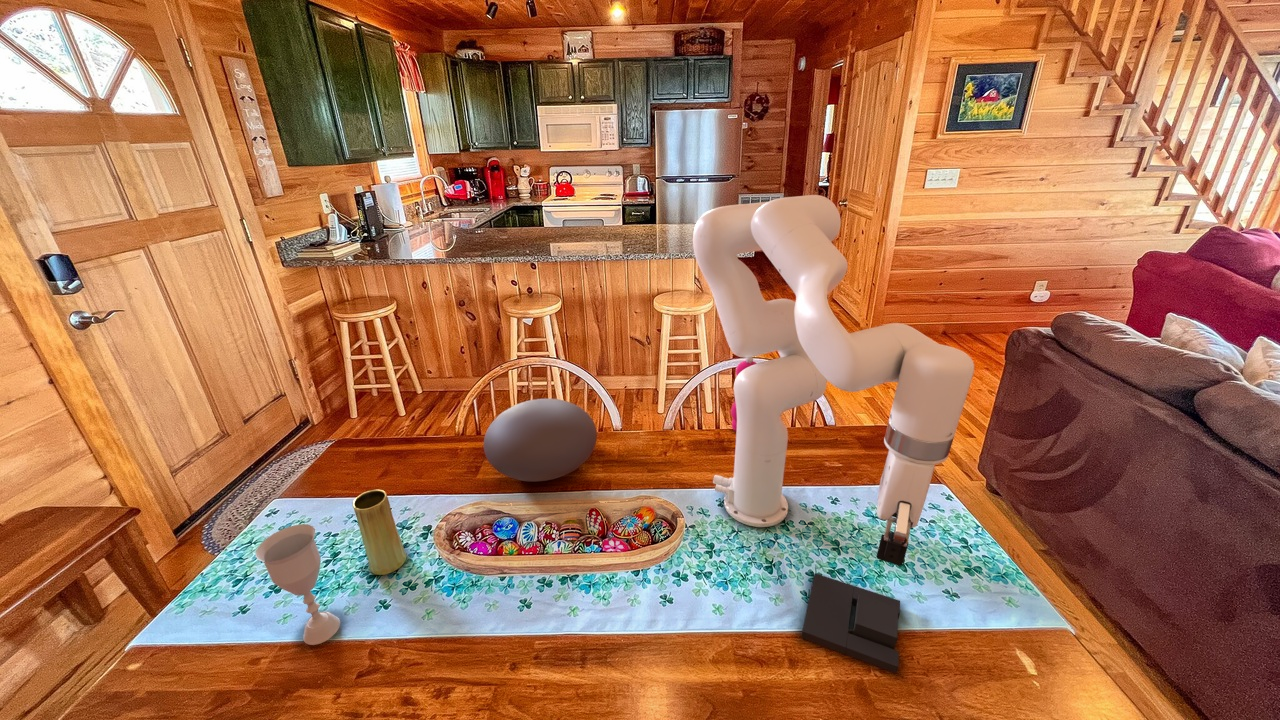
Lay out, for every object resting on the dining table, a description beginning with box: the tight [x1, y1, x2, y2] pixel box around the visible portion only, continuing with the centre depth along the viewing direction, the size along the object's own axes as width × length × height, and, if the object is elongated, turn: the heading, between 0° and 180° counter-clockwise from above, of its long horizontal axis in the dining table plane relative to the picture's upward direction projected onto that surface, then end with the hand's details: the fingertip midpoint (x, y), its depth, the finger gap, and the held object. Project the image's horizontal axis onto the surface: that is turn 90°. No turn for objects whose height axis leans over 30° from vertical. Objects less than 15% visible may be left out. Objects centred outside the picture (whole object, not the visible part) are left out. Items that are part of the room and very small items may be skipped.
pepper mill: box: [730, 356, 757, 432], centre depth 125 cm, size 7×7×20 cm
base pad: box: [800, 572, 901, 675], centre depth 78 cm, size 13×12×2 cm
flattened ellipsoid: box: [483, 398, 598, 483], centre depth 114 cm, size 25×25×15 cm
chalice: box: [254, 523, 341, 646], centre depth 75 cm, size 7×7×18 cm
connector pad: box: [852, 595, 899, 650], centre depth 76 cm, size 6×6×3 cm
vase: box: [352, 489, 408, 576], centre depth 88 cm, size 6×6×14 cm
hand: (890, 537), depth 73 cm, fingers open, 9 cm apart
